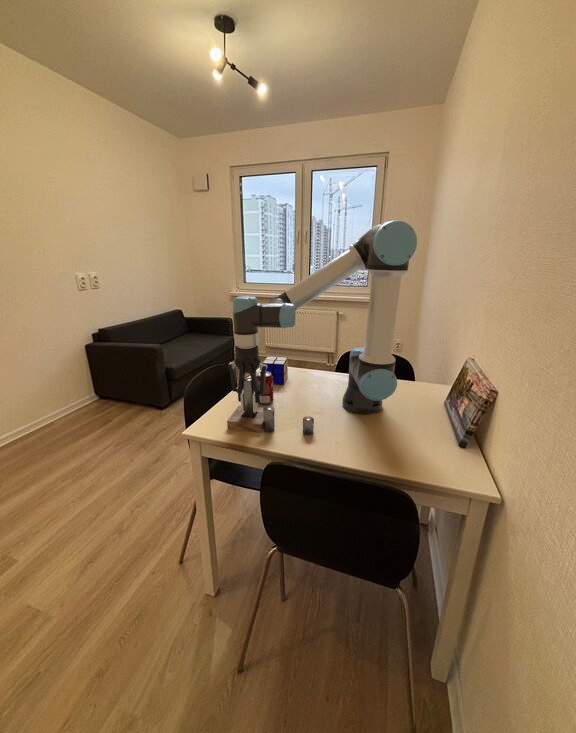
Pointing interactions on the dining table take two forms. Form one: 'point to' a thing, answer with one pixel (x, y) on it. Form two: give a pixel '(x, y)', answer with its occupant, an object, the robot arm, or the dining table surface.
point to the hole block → (246, 421)
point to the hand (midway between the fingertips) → (249, 410)
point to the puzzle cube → (277, 369)
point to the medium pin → (269, 419)
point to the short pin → (308, 425)
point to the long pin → (248, 398)
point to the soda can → (266, 389)
